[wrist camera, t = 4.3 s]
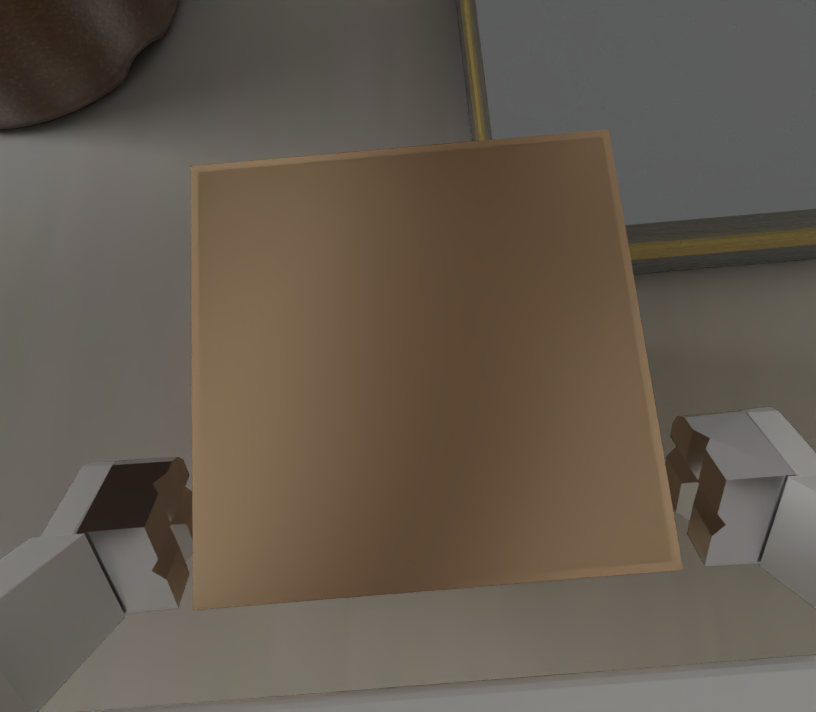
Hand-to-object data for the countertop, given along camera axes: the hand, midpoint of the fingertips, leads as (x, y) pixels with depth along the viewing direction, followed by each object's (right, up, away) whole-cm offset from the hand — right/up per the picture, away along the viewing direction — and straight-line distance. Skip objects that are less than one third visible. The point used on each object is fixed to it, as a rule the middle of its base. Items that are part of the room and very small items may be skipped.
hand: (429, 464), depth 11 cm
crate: (0, 0, +7) cm, 7 cm away
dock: (+8, +10, +11) cm, 17 cm away
